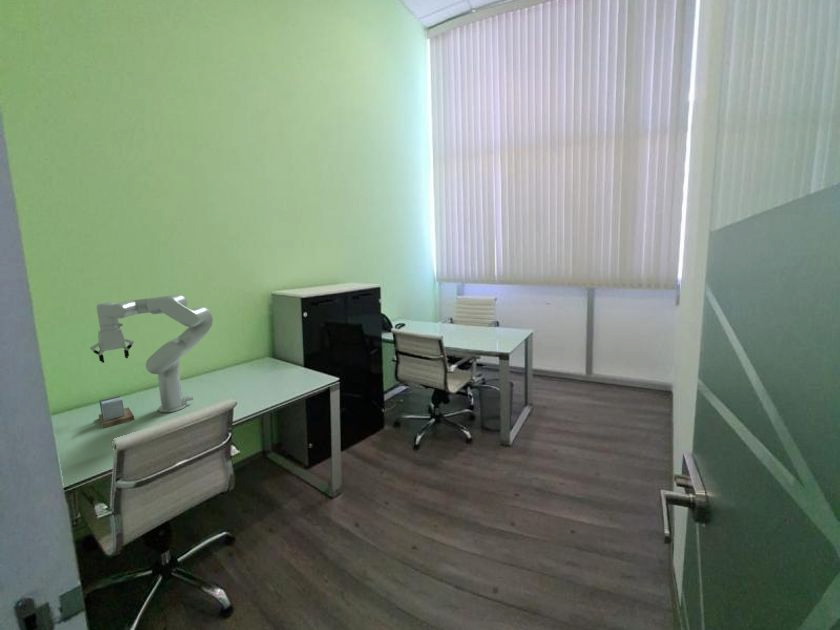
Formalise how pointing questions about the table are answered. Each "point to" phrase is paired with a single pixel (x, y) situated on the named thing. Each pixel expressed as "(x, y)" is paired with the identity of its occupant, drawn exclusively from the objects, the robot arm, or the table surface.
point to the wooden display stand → (118, 420)
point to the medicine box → (112, 408)
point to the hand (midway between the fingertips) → (114, 359)
